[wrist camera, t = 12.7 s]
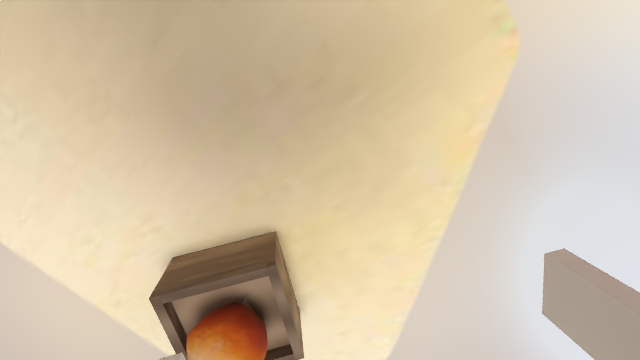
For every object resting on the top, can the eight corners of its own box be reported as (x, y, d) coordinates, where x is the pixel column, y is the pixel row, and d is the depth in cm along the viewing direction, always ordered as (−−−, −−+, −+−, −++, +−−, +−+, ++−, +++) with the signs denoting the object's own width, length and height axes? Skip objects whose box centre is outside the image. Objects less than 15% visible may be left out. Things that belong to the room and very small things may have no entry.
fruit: (297, 323, 34) (265, 404, 28) (251, 328, 38) (214, 398, 32) (251, 276, 32) (205, 352, 25) (208, 286, 36) (159, 354, 30)
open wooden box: (173, 257, 38) (149, 298, 31) (275, 231, 39) (275, 265, 32) (207, 337, 42) (193, 388, 35) (299, 312, 43) (304, 358, 36)
